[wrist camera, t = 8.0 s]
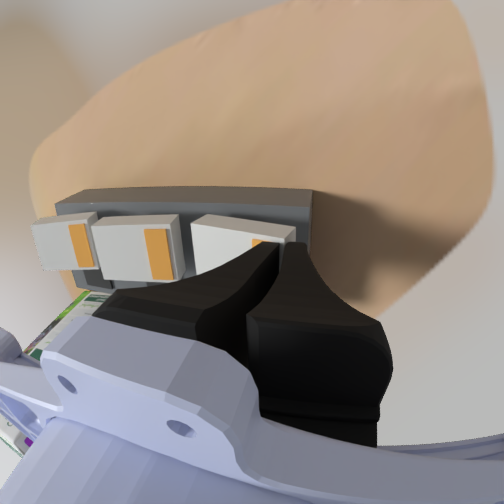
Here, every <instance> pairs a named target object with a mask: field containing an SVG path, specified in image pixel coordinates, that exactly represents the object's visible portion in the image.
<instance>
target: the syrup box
mask: <svg viewBox="0 0 504 504" xmlns="http://www.w3.org/2000/svg"><path fill="white" fill-rule="evenodd" d="M110 295H112V294H108V293H103V292H94V291H84V292H83V293H82V294H81V295H80V296H79V297H78V298H77V299H76V300H75V301H74V302H73V303H71V304H70V306H68V307H67V308H66V309H65V310H64V311H63V312H62V313H61V314H60V315H59V316H58V317H57V318H56V319H55V320H54V321H53V322H52V323H51V324H50V325H49V326H48V327H47V328H46V329H45V330H44V331H43V332H42V333H41V334H40V335H39V336H38V337H37V338H36V339H35V340H34V341H33V342H32V343H31V344H30V345H29V346H28V347H27V348H26V349H25V350H24V351H23V352H24V353H26V354H27V355H29V356H31V357H33V358H35V359H37V360H38V361H40V357H41V355H42V352H43V350H44V349H45V348H46V347H47V346H48V345H49V344H50V343H51V342H52V340H53V339H54V338H55V337H56V336H57V335H58V334H59V333H60V332H61V331H62V330H63V329H64V328H65V327H66V326H67V325H68V324H69V323H70V322H71V321H72V320H73V319H74V318H76V317H78V316H92V314H93V313H94V312H95V311H96V310H97V308H98V307H99V306H100V305H101V304H102V303H103V302H104V301H105V300H106V299H107V298H108V297H109V296H110ZM0 439H1V440H2V441H3V442H4V443H5V444H6V445H7V446H9V447H10V448H11V449H12V450H13V451H14V452H16V453H17V454H18V455H19V456H20V457H22V458H23V456H24V455H25V454H26V452H27V451H28V449H29V448H30V447H31V445H32V444H33V443H34V442H33V441H32V440H30V439H29V438H28V437H27V436H26V435H24V434H23V433H22V432H21V431H20V430H19V429H17V428H16V427H15V426H14V425H13V424H12V423H10V422H9V421H8V420H7V419H6V418H5V417H4V416H3V415H1V414H0Z"/></svg>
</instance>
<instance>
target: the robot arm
mask: <svg viewBox="0 0 504 504" xmlns="http://www.w3.org/2000/svg"><path fill="white" fill-rule="evenodd" d="M279 251H280V243H276V242H265V241H262V242H261V243H259V244H257V245H256V246H254V247H253V248H251V249H249V250H248V251H246V252H244V253H243V254H241V255H239V256H238V257H236V258H234V259H232V260H230V261H228V262H226V263H225V264H223V265H221V266H219V267H216V268H214V269H212V270H209V271H207V272H204V273H202V274H199V275H196V276H192V277H189V278H185V279H182V280H178V281H175V282H170V283H165V284H160V285H154V286H147V287H137V288H126V289H117V290H116V291H115V292H114V293H113V294H112V295H110V296H109V297H108V298H107V299H106V300H105V301H104V302H103V303H102V304H101V305H100V306H99V307H98V308H97V310H96V311H95V312H94V313H93V314H92V316H78V317H76V318H74V319H73V320H72V321H71V322H70V323H69V324H68V325H67V326H66V327H65V328H64V329H63V330H62V331H61V332H60V333H59V334H58V335H57V336H56V337H55V338H54V339H53V340H52V342H51V343H50V344H49V345H48V346H47V347H46V348H45V349H44V350H43V352H42V355H41V357H40V361H38V360H37V359H35V358H33V357H31V356H29V355H27V354H26V353H24V352H22V349H21V347H20V345H19V343H18V341H17V340H16V338H15V337H14V336H13V335H12V334H11V333H10V332H8V331H6V330H4V329H3V328H1V327H0V414H1V415H3V416H4V417H5V418H6V419H7V420H8V421H9V422H10V423H12V424H13V425H14V426H15V427H16V428H17V429H19V430H20V431H21V432H22V433H23V434H24V435H26V436H27V437H28V438H29V439H30V440H32V441H33V442H34V443H33V444H32V445H31V447H30V448H29V449H28V451H27V452H26V454H25V455H24V456H23V458H22V459H21V461H20V462H19V464H18V465H17V466H16V468H15V469H14V471H13V472H12V474H11V475H10V476H9V478H8V479H7V481H6V482H5V484H4V485H3V487H2V489H1V490H0V504H504V433H503V434H498V435H493V436H488V437H483V438H476V439H470V440H462V441H454V442H445V443H436V444H424V445H423V444H422V445H404V446H403V445H401V446H377V422H378V421H379V418H380V403H381V401H382V398H383V396H384V394H385V392H386V389H387V387H388V385H389V382H390V380H391V377H392V372H393V361H392V354H391V350H390V347H389V344H388V340H387V338H386V335H385V332H384V330H383V327H382V325H381V323H380V322H379V321H377V320H375V319H373V318H371V317H369V316H367V315H365V314H363V313H361V312H359V311H357V310H356V309H354V308H353V307H351V306H350V305H348V304H347V303H345V302H344V301H343V300H341V299H340V298H339V297H338V296H337V295H336V294H335V293H333V292H332V291H331V290H330V289H329V287H328V286H327V285H326V284H325V283H324V281H323V280H322V278H321V277H320V275H319V274H318V272H317V271H316V269H315V267H314V265H313V263H312V261H311V259H310V256H309V254H308V250H307V245H306V244H305V243H303V242H291V241H290V242H287V243H286V245H285V247H284V252H283V258H282V263H281V268H280V272H279Z"/></svg>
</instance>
